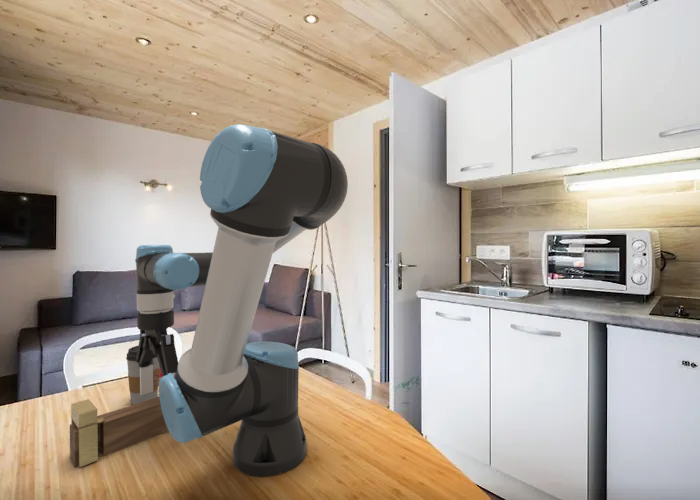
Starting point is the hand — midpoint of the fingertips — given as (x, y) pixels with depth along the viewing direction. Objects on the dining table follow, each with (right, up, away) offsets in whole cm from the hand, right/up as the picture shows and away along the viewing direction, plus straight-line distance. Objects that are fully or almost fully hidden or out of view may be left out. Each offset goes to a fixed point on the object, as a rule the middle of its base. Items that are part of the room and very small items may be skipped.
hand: (157, 401), depth 81 cm
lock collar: (-10, -7, -10) cm, 16 cm away
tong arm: (-2, -7, -2) cm, 8 cm away
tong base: (-4, -7, -3) cm, 9 cm away
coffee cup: (-12, -7, +15) cm, 21 cm away
